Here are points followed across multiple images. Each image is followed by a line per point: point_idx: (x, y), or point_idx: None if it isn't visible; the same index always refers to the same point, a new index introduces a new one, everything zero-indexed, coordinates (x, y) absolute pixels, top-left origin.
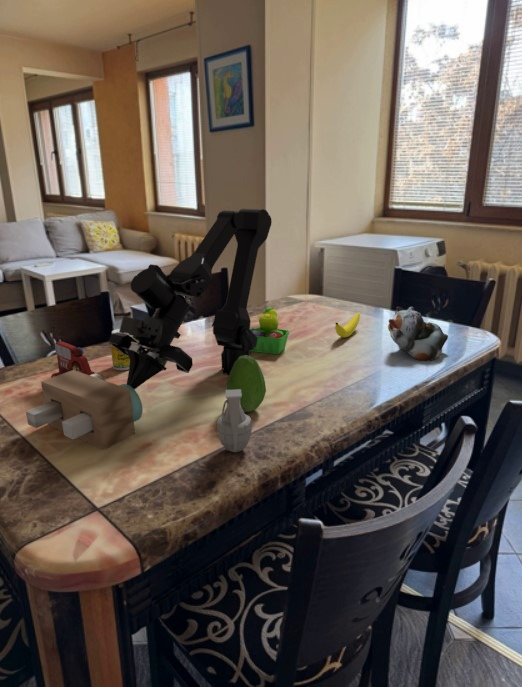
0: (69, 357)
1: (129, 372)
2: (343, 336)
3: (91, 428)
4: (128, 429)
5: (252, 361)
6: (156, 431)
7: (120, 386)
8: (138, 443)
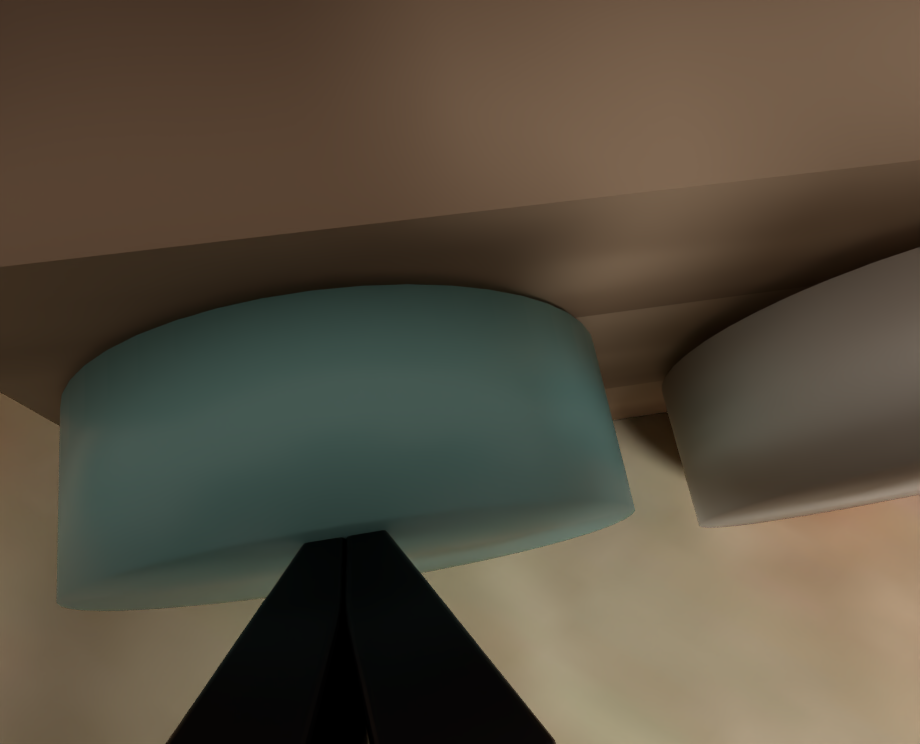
0: None
1: (492, 723)
2: None
3: None
4: None
5: None
6: (27, 665)
7: (125, 240)
8: (3, 418)
